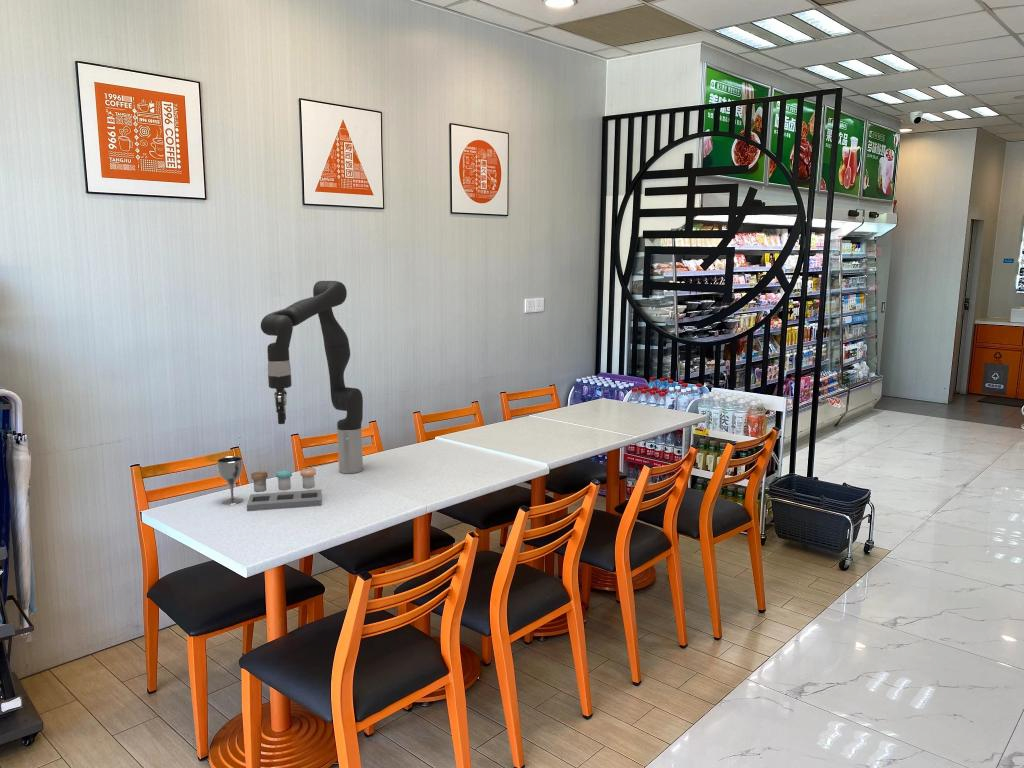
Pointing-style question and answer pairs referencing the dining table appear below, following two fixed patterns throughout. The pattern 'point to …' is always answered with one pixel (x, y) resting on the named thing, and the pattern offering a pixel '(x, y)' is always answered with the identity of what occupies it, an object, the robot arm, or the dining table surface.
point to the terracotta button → (308, 477)
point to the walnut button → (259, 481)
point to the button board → (284, 500)
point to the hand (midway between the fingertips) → (282, 421)
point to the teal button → (284, 479)
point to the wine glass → (230, 475)
